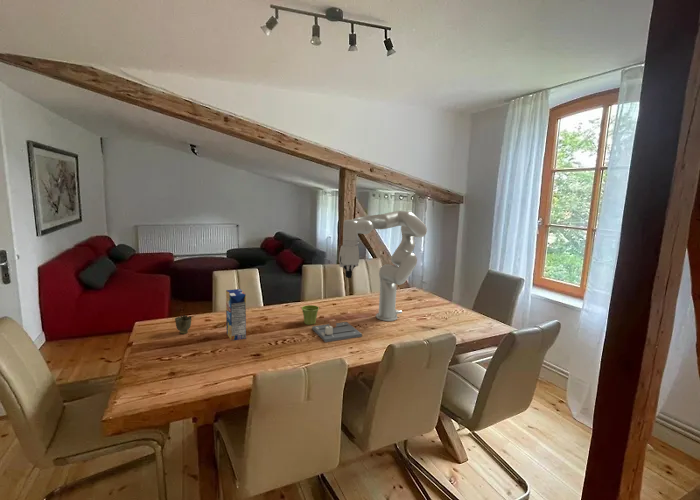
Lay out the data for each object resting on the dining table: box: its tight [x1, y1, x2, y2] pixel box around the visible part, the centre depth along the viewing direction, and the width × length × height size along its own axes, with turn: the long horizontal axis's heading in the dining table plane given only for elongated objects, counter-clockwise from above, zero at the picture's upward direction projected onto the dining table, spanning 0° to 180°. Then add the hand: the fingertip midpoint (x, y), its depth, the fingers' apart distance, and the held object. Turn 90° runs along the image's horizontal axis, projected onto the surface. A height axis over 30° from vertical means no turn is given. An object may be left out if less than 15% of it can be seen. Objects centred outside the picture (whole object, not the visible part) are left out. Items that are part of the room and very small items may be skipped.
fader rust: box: [328, 318, 337, 328], centre depth 194 cm, size 3×2×4 cm
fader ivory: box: [325, 326, 333, 335], centre depth 184 cm, size 3×2×4 cm
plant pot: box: [301, 304, 320, 326], centre depth 203 cm, size 9×9×9 cm
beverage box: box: [225, 288, 247, 341], centre depth 181 cm, size 7×11×22 cm, turn 30°
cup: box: [174, 314, 192, 335], centre depth 182 cm, size 8×7×8 cm
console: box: [311, 321, 363, 343], centre depth 191 cm, size 20×18×2 cm
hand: (348, 277), depth 197 cm, fingers closed
